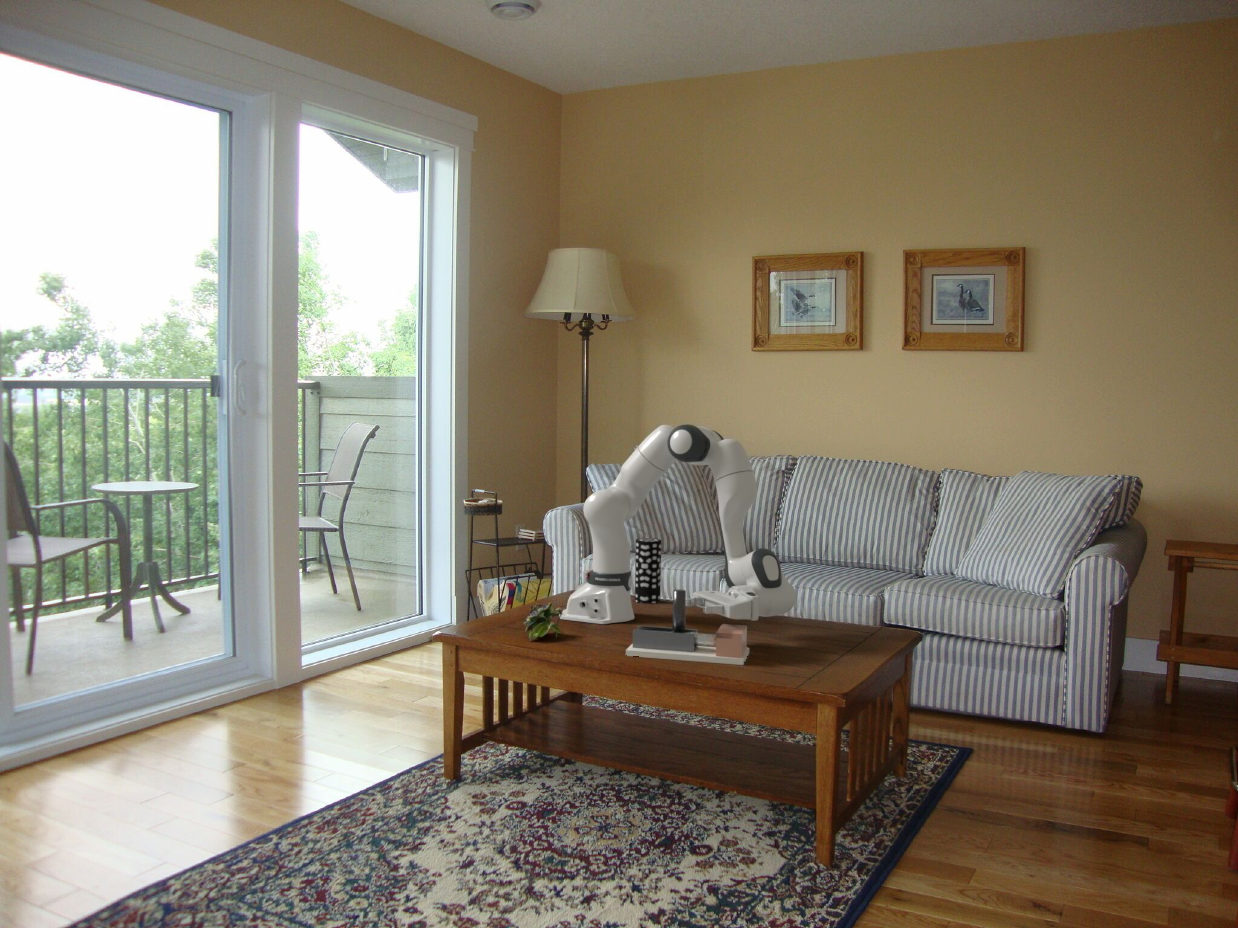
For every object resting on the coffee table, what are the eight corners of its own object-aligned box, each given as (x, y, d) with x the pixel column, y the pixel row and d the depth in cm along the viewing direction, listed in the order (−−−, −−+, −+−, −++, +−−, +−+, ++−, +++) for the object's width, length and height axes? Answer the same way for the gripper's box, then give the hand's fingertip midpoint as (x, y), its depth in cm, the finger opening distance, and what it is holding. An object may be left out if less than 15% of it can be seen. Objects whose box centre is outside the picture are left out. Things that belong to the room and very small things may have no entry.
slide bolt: (669, 645, 259) (670, 591, 258) (672, 642, 262) (673, 588, 261) (731, 649, 255) (733, 595, 254) (733, 646, 258) (734, 592, 257)
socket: (715, 655, 252) (716, 632, 252) (721, 646, 262) (722, 623, 262) (741, 657, 251) (741, 634, 250) (746, 648, 261) (746, 625, 260)
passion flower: (535, 654, 279) (543, 614, 285) (568, 651, 274) (575, 611, 280) (512, 637, 271) (521, 597, 277) (546, 635, 266) (554, 593, 272)
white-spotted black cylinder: (642, 604, 322) (643, 542, 320) (630, 599, 329) (631, 538, 328) (665, 602, 326) (666, 540, 324) (652, 597, 333) (653, 537, 332)
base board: (625, 655, 257) (625, 650, 257) (636, 644, 269) (636, 639, 269) (743, 665, 250) (743, 659, 250) (749, 653, 261) (749, 647, 261)
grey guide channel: (632, 647, 260) (632, 629, 260) (637, 642, 265) (637, 625, 265) (693, 652, 256) (694, 634, 256) (697, 646, 261) (697, 629, 261)
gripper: (720, 583, 276) (675, 587, 270) (761, 597, 258) (715, 601, 252) (719, 606, 276) (675, 610, 270) (761, 621, 258) (714, 626, 252)
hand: (694, 606), depth 261 cm, fingers open, 8 cm apart
